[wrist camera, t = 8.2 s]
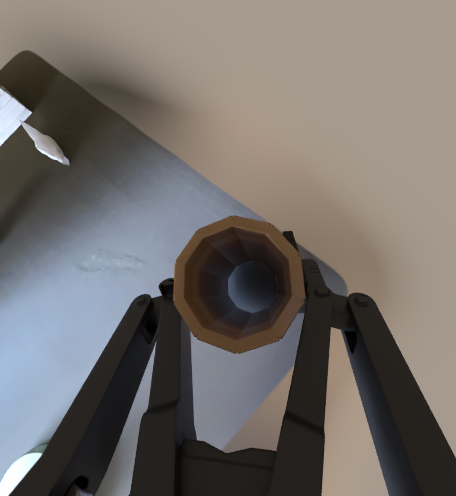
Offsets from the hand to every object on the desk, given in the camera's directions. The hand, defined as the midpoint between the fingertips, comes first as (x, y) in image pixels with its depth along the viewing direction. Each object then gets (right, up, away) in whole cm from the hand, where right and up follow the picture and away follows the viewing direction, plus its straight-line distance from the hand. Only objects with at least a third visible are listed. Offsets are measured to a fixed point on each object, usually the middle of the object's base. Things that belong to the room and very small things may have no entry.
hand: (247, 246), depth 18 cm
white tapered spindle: (-31, +17, +14) cm, 38 cm away
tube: (+1, -4, +3) cm, 5 cm away
